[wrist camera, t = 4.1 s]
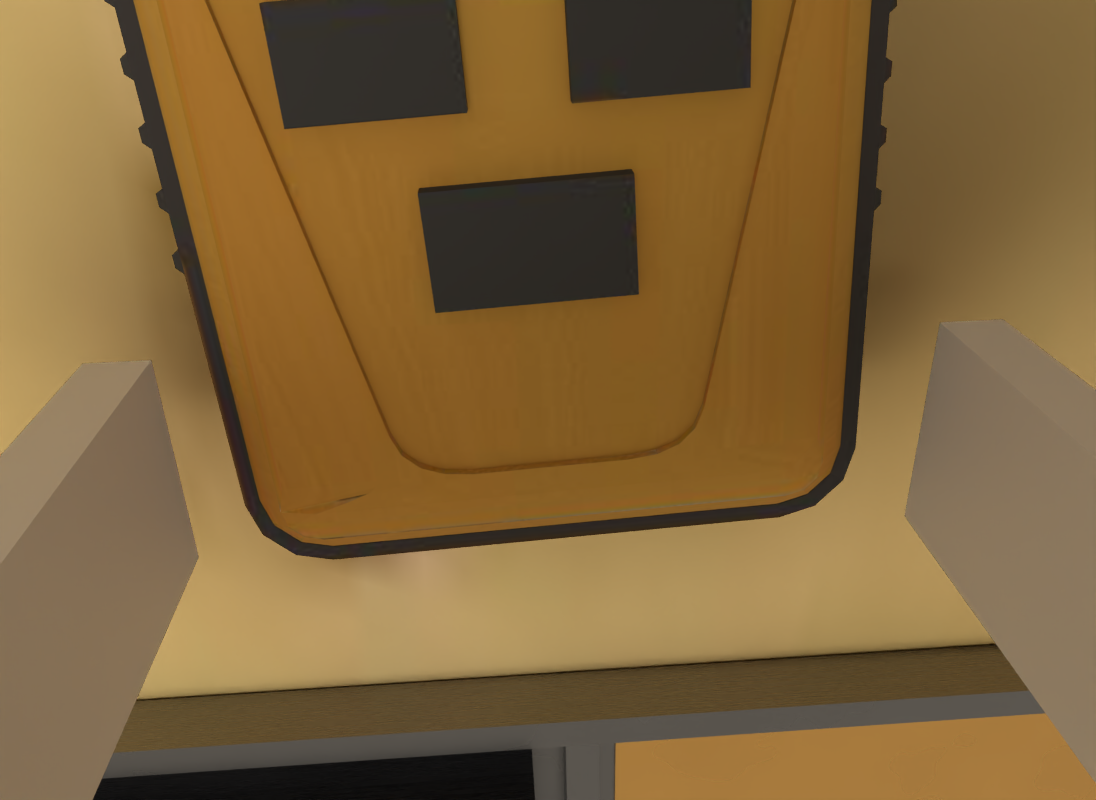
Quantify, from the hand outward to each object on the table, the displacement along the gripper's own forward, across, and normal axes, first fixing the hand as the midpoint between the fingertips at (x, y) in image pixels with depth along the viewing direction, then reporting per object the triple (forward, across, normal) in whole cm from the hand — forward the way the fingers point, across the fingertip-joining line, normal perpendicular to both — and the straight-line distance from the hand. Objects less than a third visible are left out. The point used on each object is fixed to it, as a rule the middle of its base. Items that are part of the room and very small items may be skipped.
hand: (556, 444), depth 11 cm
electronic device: (+5, 0, -1) cm, 5 cm away
